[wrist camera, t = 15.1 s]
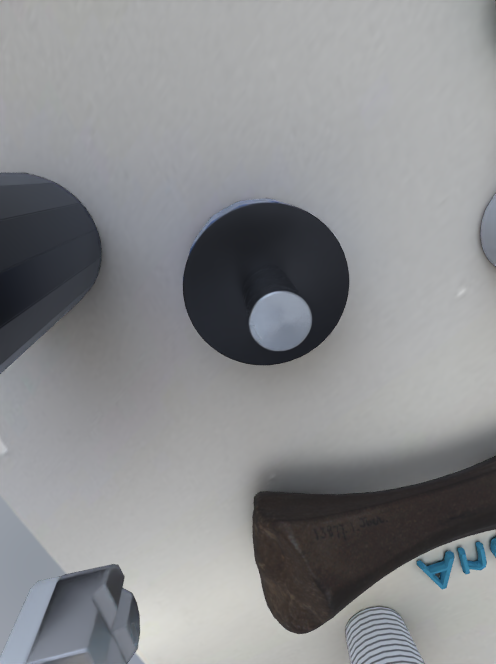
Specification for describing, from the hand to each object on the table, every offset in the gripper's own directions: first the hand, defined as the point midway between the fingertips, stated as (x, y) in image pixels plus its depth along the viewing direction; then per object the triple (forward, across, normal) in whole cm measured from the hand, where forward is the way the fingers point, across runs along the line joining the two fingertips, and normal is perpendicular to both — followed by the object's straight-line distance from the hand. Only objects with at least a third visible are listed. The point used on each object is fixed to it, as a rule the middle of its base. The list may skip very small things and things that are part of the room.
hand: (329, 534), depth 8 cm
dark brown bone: (+23, -9, +20) cm, 32 cm away
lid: (+19, -1, 0) cm, 19 cm away
